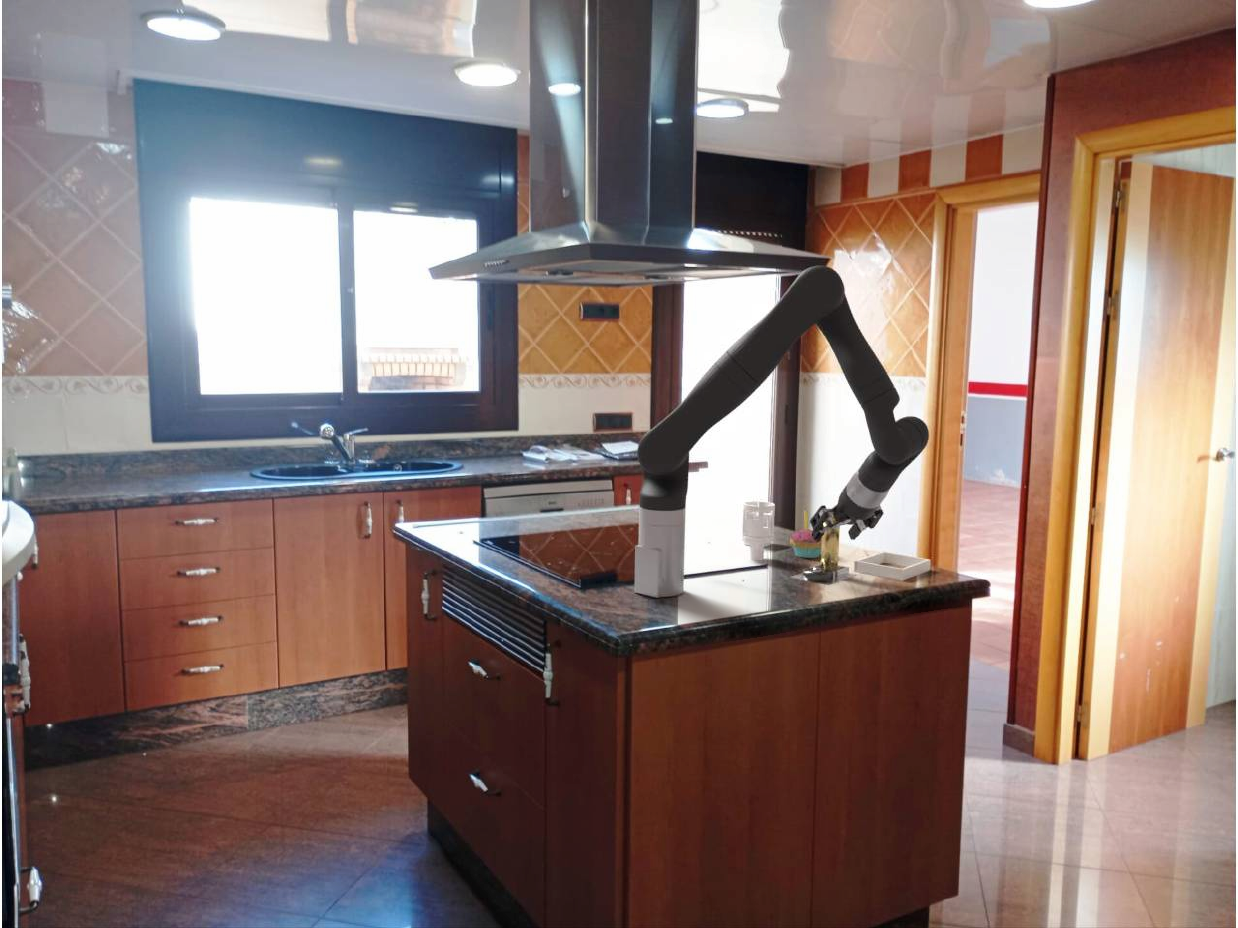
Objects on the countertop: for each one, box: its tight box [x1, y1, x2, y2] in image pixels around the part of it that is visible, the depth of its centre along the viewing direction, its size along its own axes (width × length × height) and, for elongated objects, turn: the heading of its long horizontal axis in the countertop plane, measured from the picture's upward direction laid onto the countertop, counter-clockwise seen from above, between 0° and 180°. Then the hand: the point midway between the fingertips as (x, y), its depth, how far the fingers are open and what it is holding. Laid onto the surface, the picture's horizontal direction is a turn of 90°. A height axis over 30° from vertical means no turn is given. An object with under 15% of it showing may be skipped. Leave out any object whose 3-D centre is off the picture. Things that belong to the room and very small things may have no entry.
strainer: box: [741, 499, 776, 562], centre depth 221 cm, size 7×7×15 cm
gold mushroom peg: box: [820, 516, 841, 572], centre depth 208 cm, size 5×5×13 cm
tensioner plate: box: [790, 562, 857, 586], centre depth 207 cm, size 12×9×3 cm
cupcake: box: [789, 507, 822, 559], centre depth 226 cm, size 9×8×12 cm
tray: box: [853, 551, 932, 582], centre depth 213 cm, size 13×11×4 cm
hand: (832, 537), depth 207 cm, fingers open, 8 cm apart
